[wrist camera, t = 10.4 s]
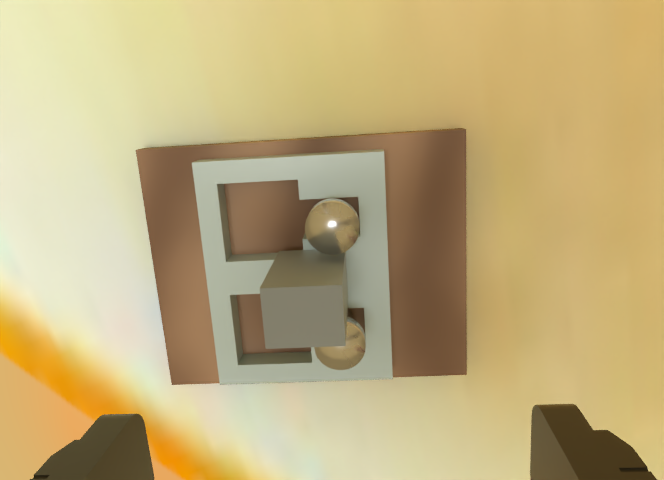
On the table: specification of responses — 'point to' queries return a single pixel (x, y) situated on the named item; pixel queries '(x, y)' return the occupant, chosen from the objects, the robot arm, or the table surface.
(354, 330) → the keyhole posts
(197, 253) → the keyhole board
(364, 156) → the slotted plate
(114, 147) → the table surface
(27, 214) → the table surface
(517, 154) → the table surface
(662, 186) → the table surface
